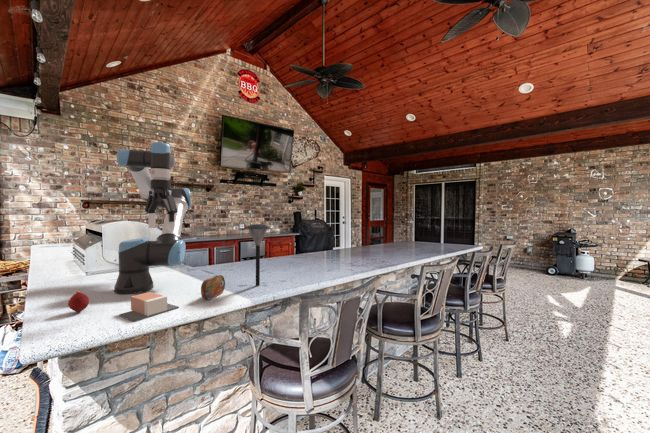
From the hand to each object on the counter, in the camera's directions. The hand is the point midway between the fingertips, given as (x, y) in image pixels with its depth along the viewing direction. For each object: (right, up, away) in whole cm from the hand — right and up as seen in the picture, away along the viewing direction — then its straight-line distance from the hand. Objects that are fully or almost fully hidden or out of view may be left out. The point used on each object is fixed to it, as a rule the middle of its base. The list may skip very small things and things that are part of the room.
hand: (160, 229), depth 129 cm
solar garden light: (+38, -29, +18) cm, 51 cm away
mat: (+7, -30, -19) cm, 36 cm away
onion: (-18, -30, -21) cm, 40 cm away
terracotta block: (+1, -26, -16) cm, 31 cm away
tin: (+22, -29, 0) cm, 37 cm away
